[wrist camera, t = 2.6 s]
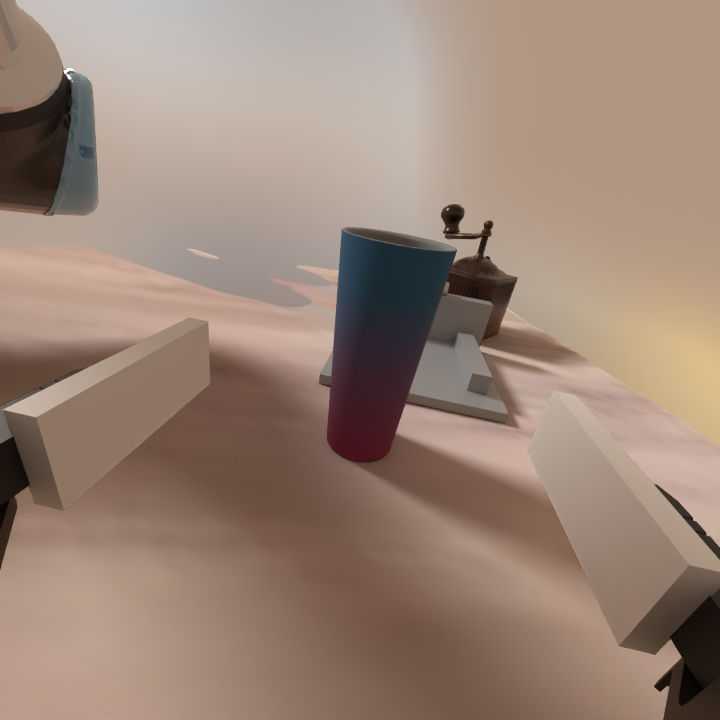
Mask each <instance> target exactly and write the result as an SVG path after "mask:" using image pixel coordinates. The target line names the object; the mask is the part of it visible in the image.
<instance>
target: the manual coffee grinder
mask: <svg viewBox="0 0 720 720" xmlns="http://www.w3.org/2000/svg"><path fill="white" fill-rule="evenodd" d="M464 213H465V212H464V209H463V208H462V207H461V206H460V205H457V204H452V205H448V206H447V207H445V208H444V209H443V210H442V212H441V217H442V219H443V221H444V223H445V225H446V226H445V229H444V231H443V233H444V234H445V238H446V239H477V238H481V237H482V239H481V242H480V246H479V249H478V252H477V254H476V255H475V256H473V257H466V258H462V259H459V260H457V261H456V262H454V263H453V264H452V267H451V270H450V273H449V276H448V279H447V282H448V283H449V289H448V294H453V295H458V296H463V297H468V298H474V299H479V300H484V301H489V302H491V303H492V304H493V309H492V312H491V315H490V318H489V321H488V323H487V326H486V329H485V332H484V335H483V338H482V340H484V339H486V338H489V337H491V336H493V335H495V334H498V331H499V328H500V325H501V322H502V320H503V317H504V314H505V312H506V309H507V306H508V303H509V301H510V298H511V295H512V292H513V289H514V287H515V284H516V282H517V277H514V276H510V275H506V274H505V273H504V272H503V271H501V270H499V269H498V268H497V267H496V266H495V265H494V264H493V263H492V262H491V261H490V257H488V256H486V257H485V258H484V255H483V254H484V250H485V246H486V243H487V240H488V237H489V236H491V234H492V233H491V228H492V227H493V222H492V221H486V222H485V223H484V230H482V233H477V234H466V233H459V232H460V231H459V228H458V225H459V223H460V221H461V220H462V218H463V217H464Z"/></svg>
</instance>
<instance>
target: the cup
mask: <svg viewBox="0 0 720 720" xmlns="http://www.w3.org/2000/svg"><path fill="white" fill-rule="evenodd" d="M456 252H457V249H456V248H454V247H452V246H449V245H447V244H443V243H440V242H436V241H433V240H428V239H424V238H419V237H415V236H411V235H405V234H400V233H394V232H389V231H382V230H375V229H367V228H356V227H346V228H343V229H342V236H341V249H340V264H339V276H338V290H337V304H336V318H335V332H334V346H333V359H332V373H331V387H330V401H329V415H328V429H327V440H328V443H329V445H330V447H331V448H332V449H333V450H334V451H335V452H336V453H338V454H339V455H341V456H342V457H345V458H347V459H350V460H353V461H359V462H371V461H376V460H378V459H381V458H383V457H384V456H385V455H386V454H387V453H388V452H389V450H390V448H391V445H392V442H393V439H394V436H395V433H396V430H397V427H398V424H399V421H400V418H401V415H402V412H403V409H404V406H405V403H406V400H407V397H408V394H409V391H410V389H411V386H412V383H413V380H414V377H415V374H416V371H417V368H418V365H419V362H420V359H421V356H422V353H423V350H424V347H425V344H426V341H427V338H428V335H429V332H430V329H431V326H432V323H433V320H434V317H435V314H436V311H437V308H438V305H439V303H440V300H441V297H442V294H443V291H444V288H445V285H446V282H447V279H448V276H449V273H450V270H451V267H452V264H453V261H454V258H455V255H456Z"/></svg>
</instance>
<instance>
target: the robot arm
mask: <svg viewBox="0 0 720 720" xmlns="http://www.w3.org/2000/svg"><path fill="white" fill-rule="evenodd" d="M96 156H97V155H96V137H95V118H94V102H93V90H92V85H91V82H90V81H89V80H88V78H86V77H85V76H83V75H81V74H79V73H76V72H75V71H74V70H73V69H68V68H65V69H63V66H62V62H61V59H60V56H59V53H58V51H57V49H56V46H55V44H54V42H53V41H52V39H51V38H50V36H49V35H48V33H47V32H46V31H45V30H44V29H43V28H42V27H41V25H39V24H38V23H37V22H36V21H35V20H34V19H33V18H32V17H31V16H30V15H28V14H27V13H26V12H25V11H24V10H22V9H21V8H19V7H18V6H17V5H16V1H15V0H0V210H6V211H15V212H24V213H34V214H43V215H45V216H53V215H54V214H57V215H78V216H84V215H89V214H91V213H92V212H94V211H95V210H96V208H97V206H98V177H97V157H96ZM209 384H210V360H209V332H208V321H203V320H198V319H193V318H188V319H186V320H184V321H182V322H179V323H177V324H175V325H173V326H171V327H169V328H167V329H165V330H163V331H161V332H159V333H157V334H155V335H153V336H151V337H149V338H147V339H145V340H143V341H141V342H139V343H137V344H135V345H133V346H131V347H129V348H127V349H125V350H123V351H121V352H119V353H117V354H115V355H113V356H111V357H108V358H106V359H104V360H102V361H100V362H98V363H96V364H94V365H92V366H90V367H87V368H83V369H80V370H76V371H73V372H70V373H68V374H66V375H64V376H62V377H60V378H58V379H56V380H54V382H50V383H48V384H45V385H43V386H41V387H40V388H39V390H37V389H35V390H33V391H31V392H29V393H27V394H25V395H23V396H21V397H18V398H16V399H14V400H12V401H10V402H8V403H6V404H4V405H2V406H0V569H1V565H2V561H3V558H4V554H5V550H6V547H7V543H8V539H9V536H10V532H11V528H12V525H13V521H14V517H15V514H16V510H17V502H16V499H15V495H16V494H18V493H19V492H21V491H22V490H23V489H25V488H26V487H27V486H29V488H30V491H31V493H32V496H33V499H34V502H35V504H38V505H42V506H46V507H51V508H55V509H59V510H63V511H64V510H66V509H67V508H68V507H69V506H70V505H71V504H72V503H74V502H75V501H76V500H77V499H78V498H79V497H80V496H82V495H83V494H84V493H85V492H86V491H87V490H89V489H90V488H91V487H92V486H93V485H94V484H95V483H97V482H98V481H99V480H100V479H101V478H102V477H103V476H105V475H106V474H107V473H108V472H109V471H110V470H112V469H113V468H114V467H115V466H116V465H117V464H118V463H120V462H121V461H122V460H123V459H124V458H125V457H126V456H128V455H129V454H130V453H131V452H132V451H133V450H135V449H136V448H137V447H138V446H139V445H140V444H141V443H143V442H144V441H145V440H146V439H147V438H148V437H149V436H151V435H152V434H153V433H154V432H155V431H156V430H158V429H159V428H160V427H161V426H162V425H163V424H164V423H166V422H167V421H168V420H169V419H170V418H171V417H172V416H174V415H175V414H176V413H177V412H178V411H179V410H180V409H182V408H183V407H184V406H185V405H186V404H187V403H189V402H190V401H191V400H192V399H193V398H194V397H195V396H197V395H198V394H199V393H200V392H201V391H202V390H203V389H205V388H206V387H207V386H208V385H209ZM527 452H528V454H529V456H530V458H531V460H532V462H533V465H534V467H535V469H536V471H537V473H538V475H539V477H540V479H541V482H542V484H543V486H544V488H545V490H546V492H547V494H548V496H549V499H550V501H551V503H552V505H553V507H554V509H555V511H556V513H557V516H558V518H559V520H560V522H561V524H562V526H563V528H564V530H565V533H566V535H567V537H568V539H569V541H570V543H571V545H572V547H573V550H574V552H575V554H576V556H577V558H578V560H579V562H580V564H581V567H582V569H583V571H584V573H585V575H586V577H587V579H588V581H589V584H590V586H591V588H592V590H593V592H594V594H595V596H596V598H597V601H598V603H599V605H600V607H601V609H602V611H603V613H604V615H605V618H606V620H607V622H608V624H609V626H610V628H611V630H612V632H613V635H614V637H615V639H616V641H617V643H618V645H619V646H621V647H625V648H630V649H634V650H638V651H642V652H646V653H650V654H654V655H655V654H656V653H657V652H658V651H659V650H660V649H661V648H662V647H663V646H664V645H665V644H666V643H667V642H668V641H669V640H670V639H671V640H672V641H673V643H674V645H675V646H676V648H677V650H678V651H679V653H680V655H681V656H682V658H681V659H680V660H679V661H678V662H677V663H676V664H675V665H674V666H673V667H672V668H671V669H670V670H669V671H668V672H667V673H665V674H664V675H663V676H662V677H661V678H660V679H659V680H658V682H657V683H656V684H655V686H654V687H655V688H656V689H657V690H658V691H660V692H661V691H662V690H663V689H664V688H665V687H666V686H670V687H669V692H668V698H667V703H666V708H665V714H664V719H663V720H720V547H719V546H718V545H717V544H716V543H715V542H714V541H713V539H712V538H711V537H710V536H707V535H706V532H705V531H704V530H703V528H702V527H701V526H700V525H699V524H698V523H697V522H696V521H693V517H692V516H691V515H690V514H689V513H688V512H687V511H686V510H685V508H684V507H683V506H682V505H681V504H680V503H679V502H678V501H677V500H676V499H674V498H673V497H672V496H671V495H669V494H668V493H667V492H665V491H664V490H663V489H662V488H660V487H659V486H658V485H655V484H653V483H652V482H651V481H650V479H649V478H648V477H647V476H646V475H645V474H644V473H643V471H642V470H641V469H640V468H639V467H638V466H637V464H636V463H635V462H634V461H633V460H632V459H631V458H630V456H629V455H628V454H627V453H626V452H625V451H624V450H623V448H622V447H621V446H620V445H619V444H618V443H617V442H616V440H615V439H614V438H613V437H612V436H611V435H610V434H609V432H608V431H607V430H606V429H605V428H604V427H603V425H602V424H601V423H600V422H599V421H598V420H597V419H596V417H595V416H594V415H593V414H592V413H591V412H590V411H589V409H588V408H587V407H586V406H585V405H584V404H583V403H582V401H581V400H580V399H579V398H578V397H577V396H576V395H572V394H567V393H562V392H557V391H554V393H553V395H552V398H551V400H550V402H549V404H548V406H547V408H546V411H545V413H544V415H543V417H542V419H541V422H540V424H539V426H538V428H537V430H536V432H535V435H534V437H533V439H532V441H531V443H530V445H529V448H528V450H527Z"/></svg>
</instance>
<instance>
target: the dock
mask: <svg viewBox="0 0 720 720" xmlns="http://www.w3.org/2000/svg"><path fill="white" fill-rule="evenodd" d="M448 289H449V283H448V282H446V285H445V288H444V291H443V294H442V297H441V300H440V303H439V305H438V308H437V311H436V314H435V317H434V320H433V323H432V326H431V329H430V332H429V335H428V338H427V341H426V344H425V347H424V350H423V353H422V356H421V359H420V362H419V365H418V368H417V371H416V374H415V377H414V380H413V383H412V386H411V389H410V391H409V394H408V397H407V400H406V402H409V403H414V404H418V405H423V406H428V407H432V408H437V409H442V410H446V411H451V412H456V413H460V414H465V415H470V416H474V417H479V418H484V419H488V420H493V421H498V422H502V423H505V422H506V420H507V417H508V415H509V414H508V412H507V409H506V407H505V405H504V403H503V401H502V398H501V396H500V394H499V392H498V389H497V387H496V385H495V383H494V381H493V377H492V375H491V372H490V370H489V368H488V366H487V364H486V361H485V359H484V357H483V355H482V353H481V350H480V348H479V347H480V344H481V341H482V338H483V335H484V332H485V329H486V326H487V323H488V321H489V318H490V315H491V312H492V309H493V304H492V303H491V302H489V301H484V300H479V299H474V298H468V297H463V296H458V295H453V294H448ZM332 359H333V351H332V353H331V355H330V357H329V359H328V361H327V362H326V364H325V366H324V368H323V370H322V372H321V373H320V379H319V383H321V384H325V385H330V386H331V373H332Z"/></svg>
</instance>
